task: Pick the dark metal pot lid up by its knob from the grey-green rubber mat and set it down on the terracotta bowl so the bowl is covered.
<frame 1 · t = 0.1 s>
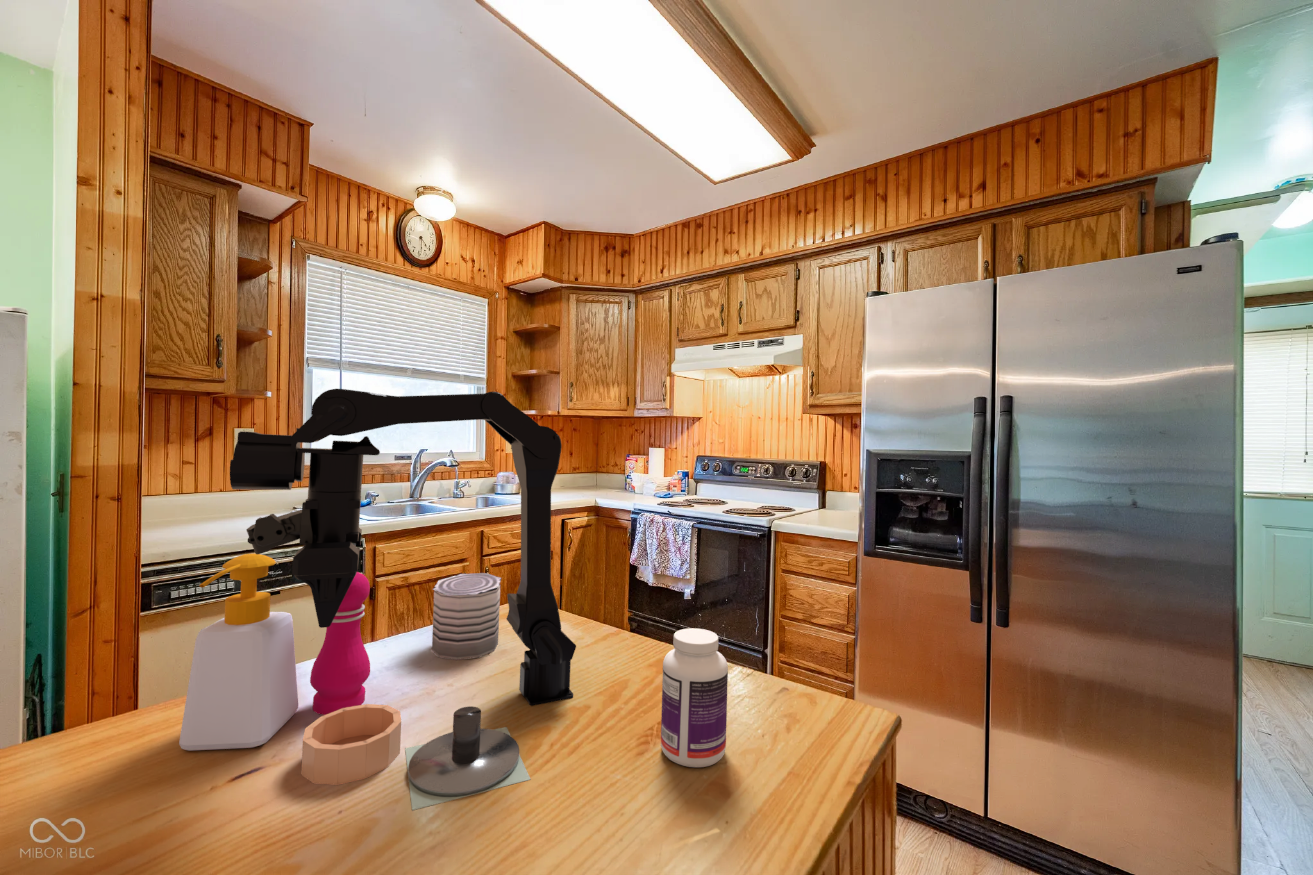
hand: (327, 615, 67), 15 cm above the counter, fingers open, 8 cm apart
bowl: (352, 759, 63), on the counter
soap bottle: (232, 743, 66), on the counter
pepper mill: (339, 706, 75), on the counter, touching gripper
pill bottle: (692, 754, 67), on the counter
mat: (465, 765, 63), on the counter
lid: (465, 763, 63), resting on mat
can: (465, 648, 97), on the counter
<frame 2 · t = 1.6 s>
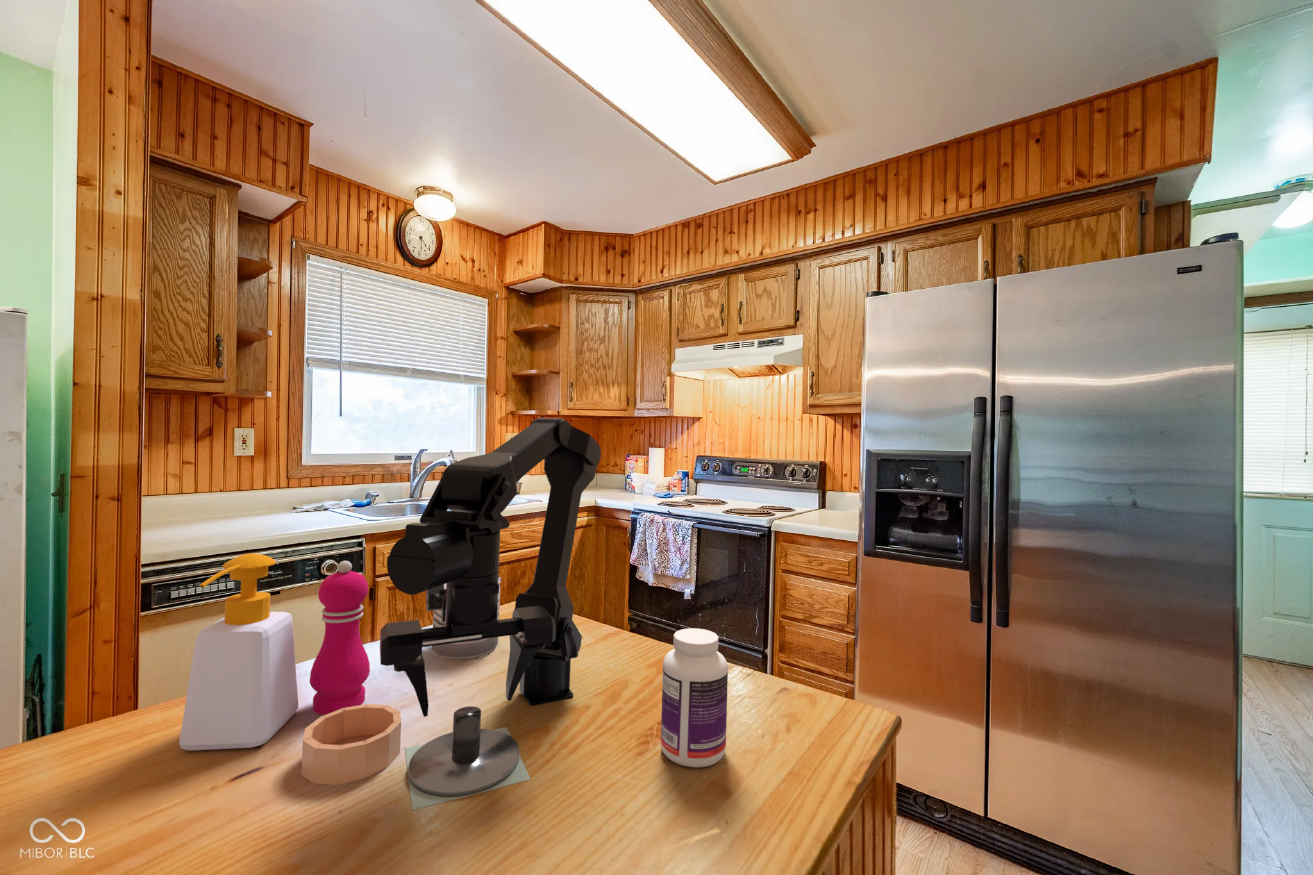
hand: (468, 706, 63), 7 cm above the counter, fingers open, 9 cm apart
pepper mill: (339, 706, 75), on the counter
everything else where it was.
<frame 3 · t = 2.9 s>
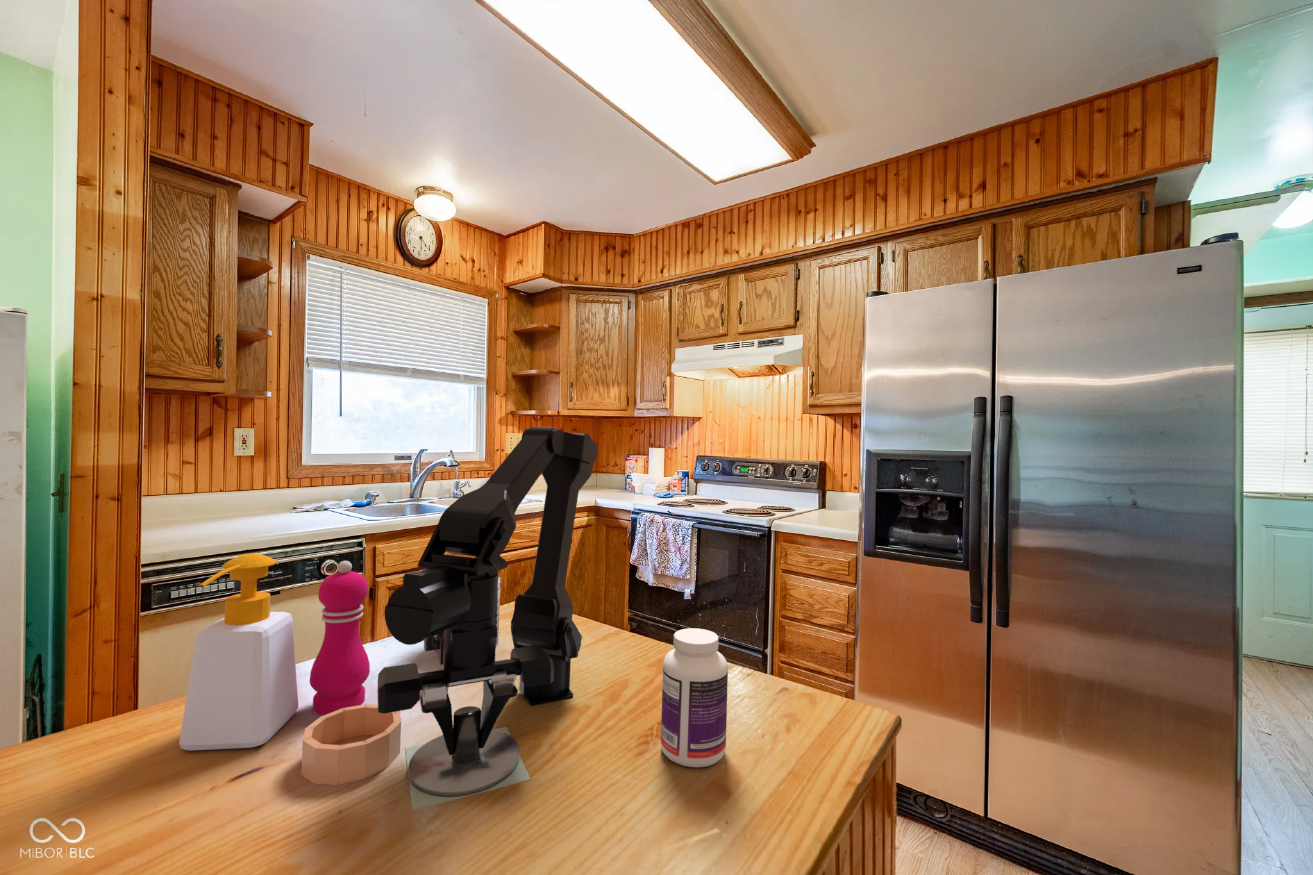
hand: (466, 749, 63), 2 cm above the counter, fingers closed on lid, 3 cm apart
lid: (465, 762, 63), resting on mat, touching gripper
everything else where it was.
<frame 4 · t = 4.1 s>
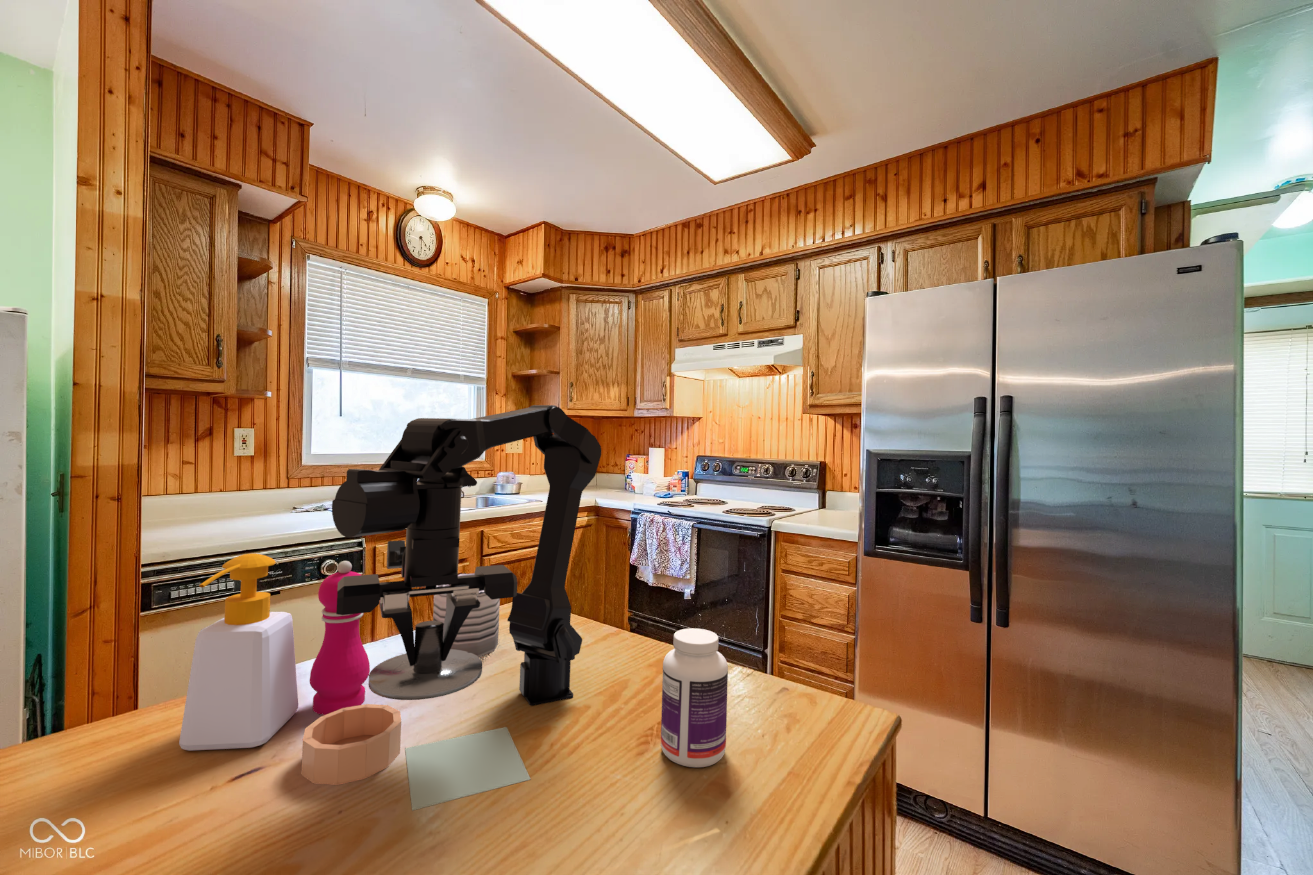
hand: (427, 662, 63), 12 cm above the counter, fingers closed on lid, 3 cm apart
lid: (427, 675, 62), point 10 cm above the counter, touching gripper
everything else where it was.
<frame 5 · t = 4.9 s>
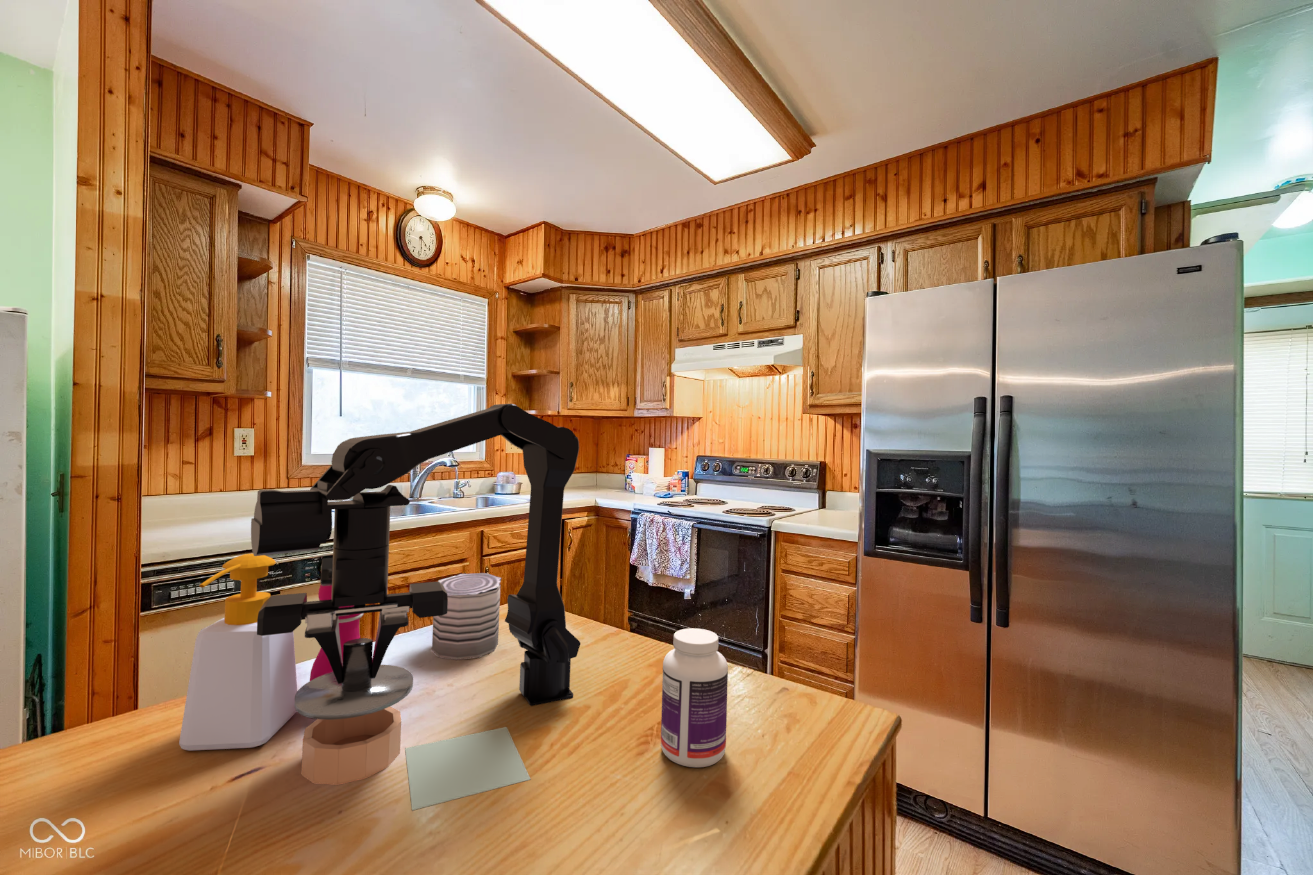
hand: (356, 679, 63), 9 cm above the counter, fingers closed on lid, 3 cm apart
lid: (356, 692, 63), point 8 cm above the counter, touching gripper
everything else where it was.
when the fingers open (6 cm above the counter, at t = 5.5 s): lid stays where it is, resting on bowl.
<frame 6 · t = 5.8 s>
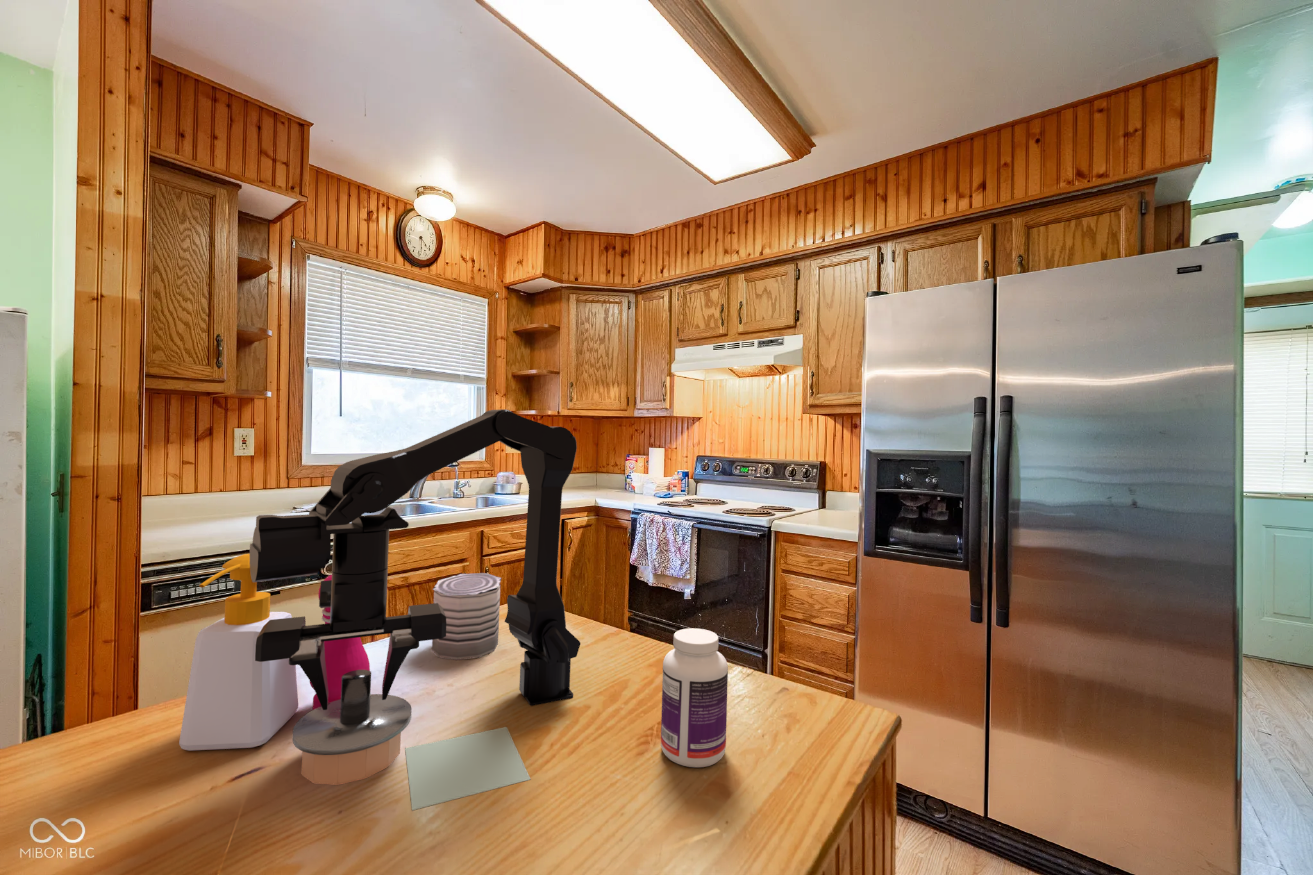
hand: (355, 703, 63), 6 cm above the counter, fingers open, 6 cm apart
lid: (354, 725, 63), point 4 cm above the counter, touching bowl
everything else where it was.
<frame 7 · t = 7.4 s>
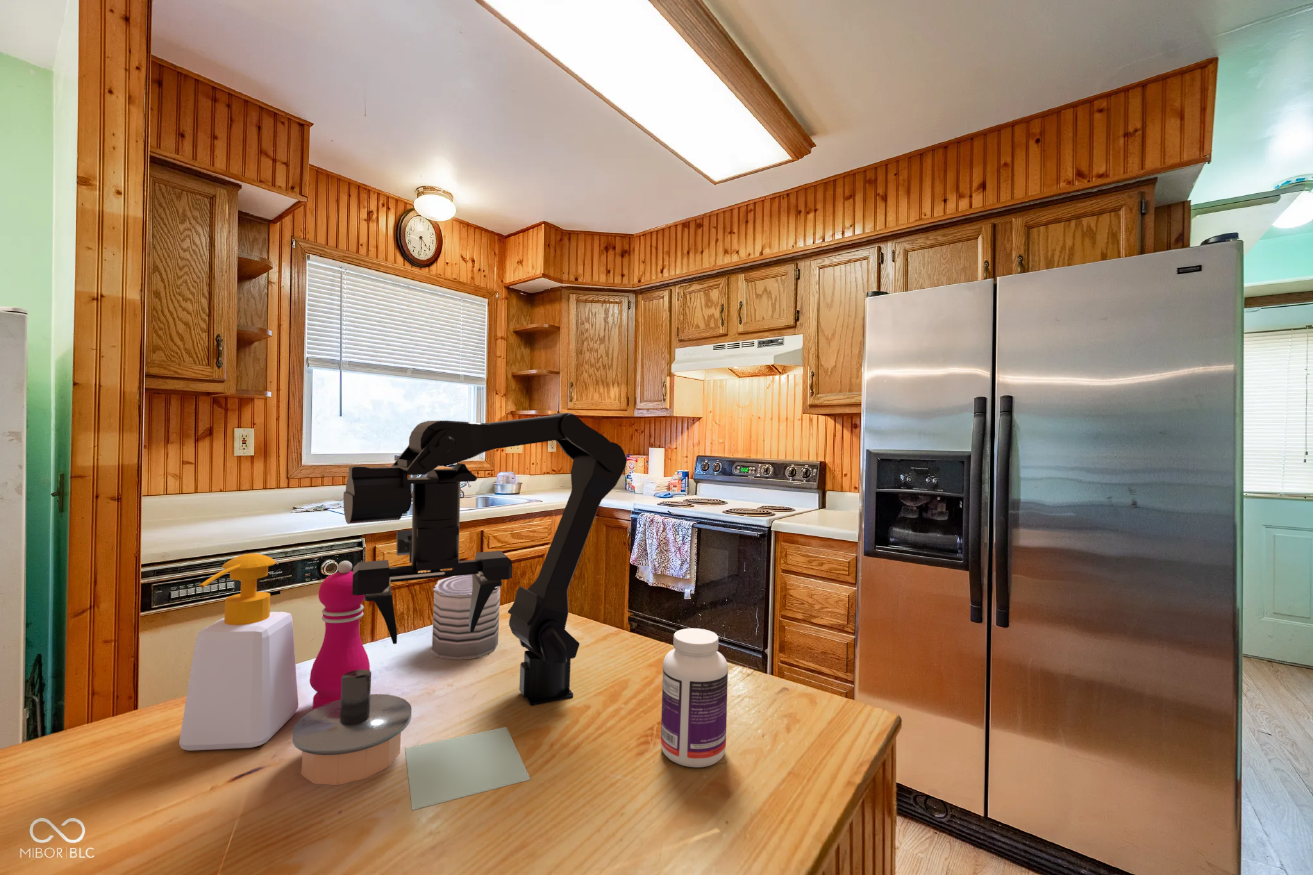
hand: (434, 637, 70), 12 cm above the counter, fingers open, 9 cm apart
nothing on the counter moved.
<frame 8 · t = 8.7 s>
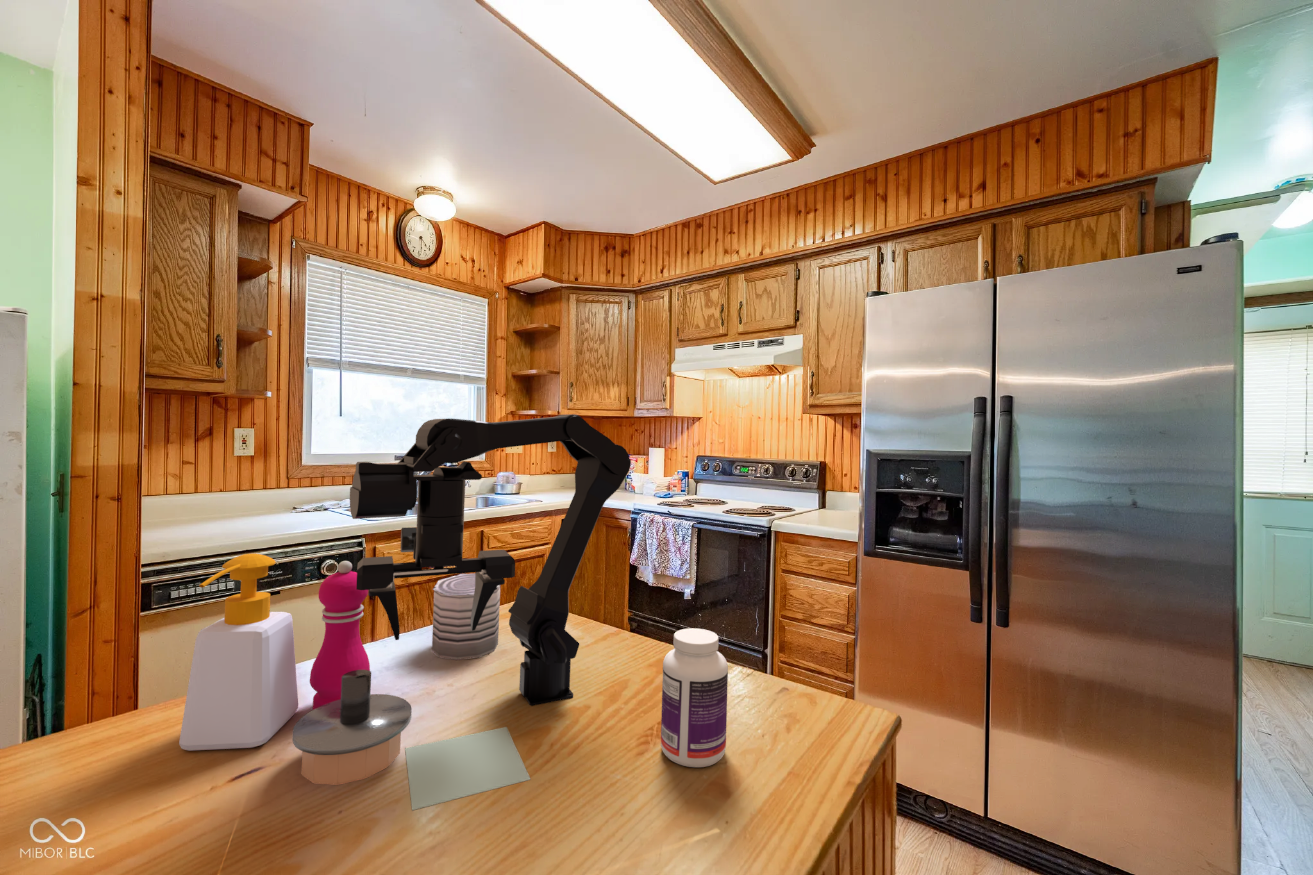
hand: (436, 634, 71), 12 cm above the counter, fingers open, 9 cm apart
nothing on the counter moved.
at the end: lid 0.1 cm off-centre on the bowl, point 4.0 cm above the bowl's base; lid tilted 0°; the gripper is holding nothing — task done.
